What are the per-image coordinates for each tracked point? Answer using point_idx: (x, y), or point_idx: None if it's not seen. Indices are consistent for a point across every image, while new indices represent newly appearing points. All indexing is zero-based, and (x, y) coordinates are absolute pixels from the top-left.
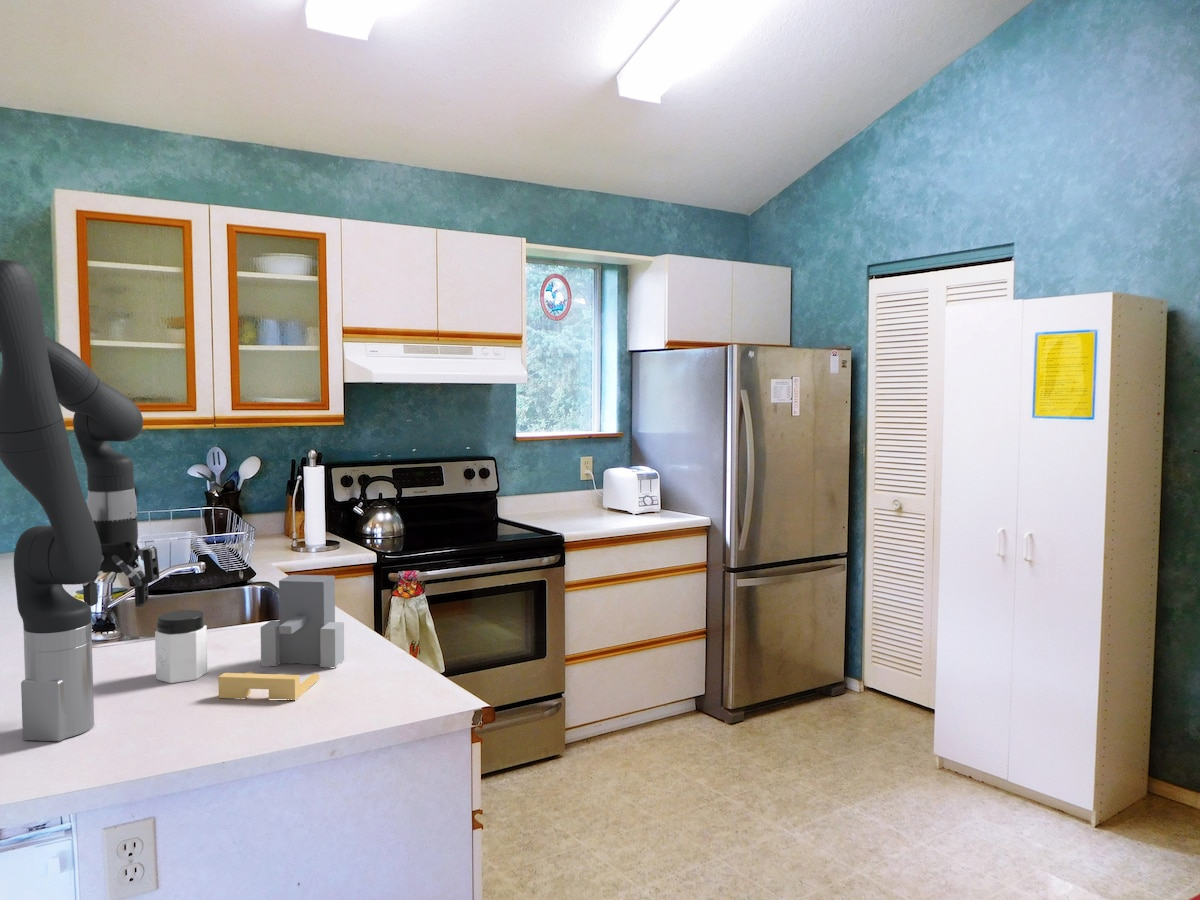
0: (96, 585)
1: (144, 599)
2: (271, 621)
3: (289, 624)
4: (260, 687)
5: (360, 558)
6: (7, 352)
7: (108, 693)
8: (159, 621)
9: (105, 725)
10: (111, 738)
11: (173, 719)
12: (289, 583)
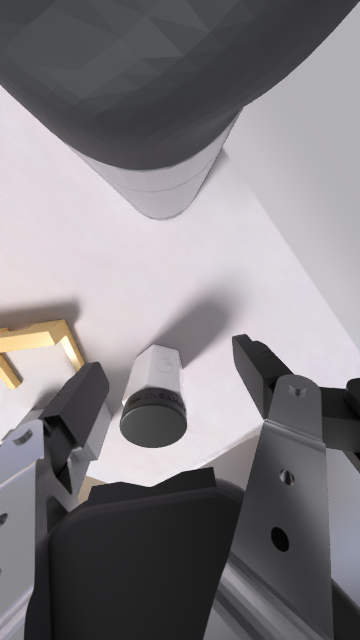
0: (259, 408)
1: (66, 385)
2: (94, 457)
3: None
4: (3, 333)
5: None
6: None
7: (198, 305)
8: (168, 403)
9: (117, 208)
10: (68, 162)
11: (53, 248)
12: None
